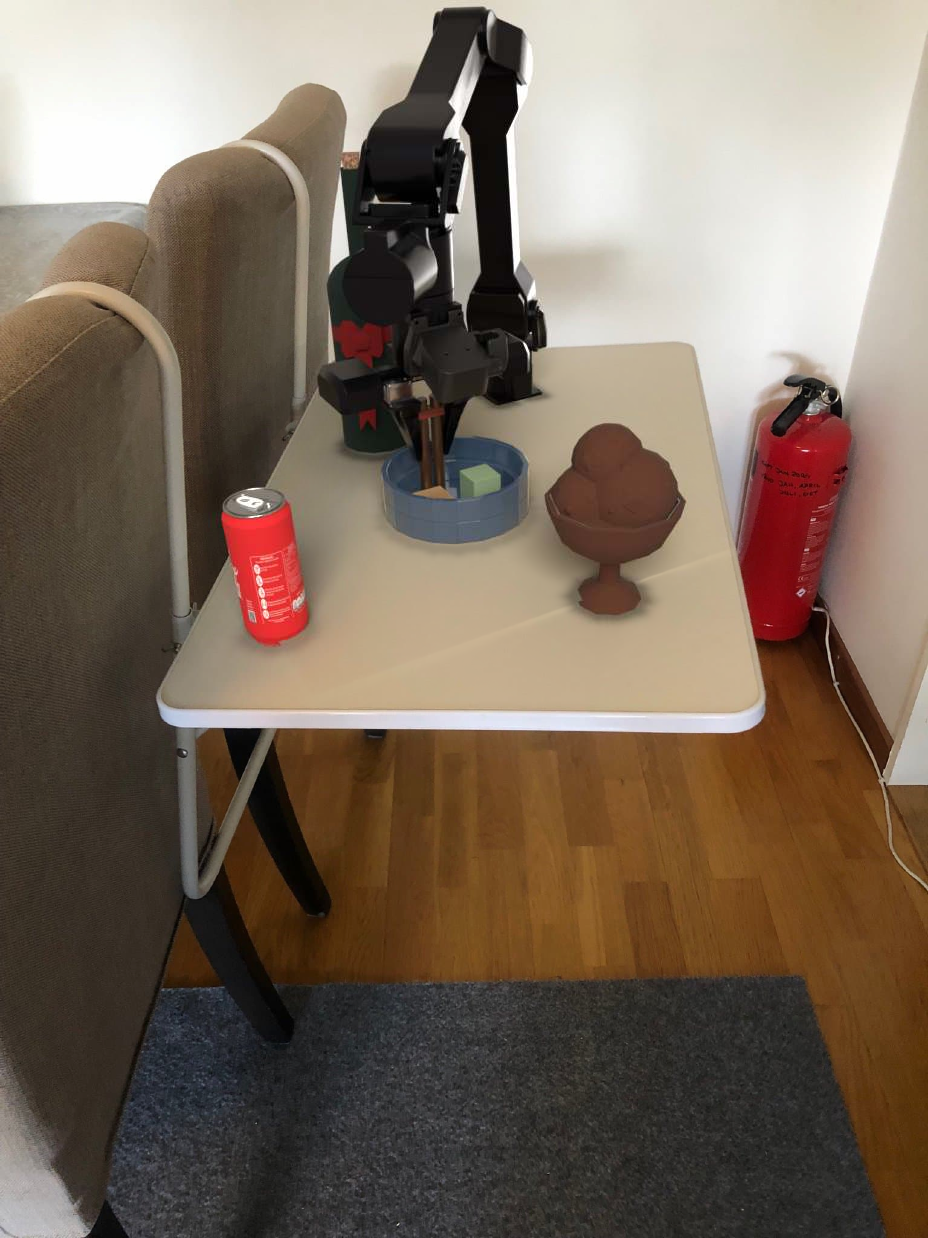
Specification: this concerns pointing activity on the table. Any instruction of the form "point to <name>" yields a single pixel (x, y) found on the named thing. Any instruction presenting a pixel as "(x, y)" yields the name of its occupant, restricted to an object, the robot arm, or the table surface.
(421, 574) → the table surface
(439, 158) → the robot arm
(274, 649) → the table surface
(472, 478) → the sage block
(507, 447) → the bowl
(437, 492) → the beech block
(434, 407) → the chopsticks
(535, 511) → the table surface
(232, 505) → the beverage can
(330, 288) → the wine bottle
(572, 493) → the ice cream bowl
